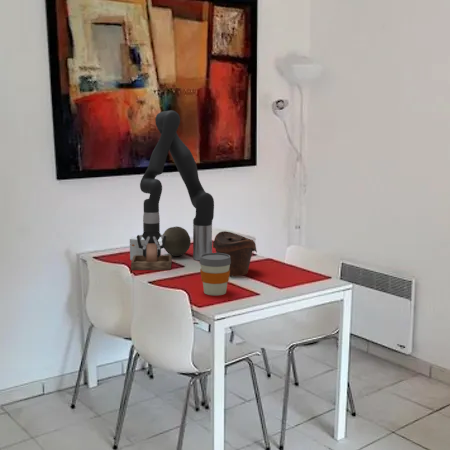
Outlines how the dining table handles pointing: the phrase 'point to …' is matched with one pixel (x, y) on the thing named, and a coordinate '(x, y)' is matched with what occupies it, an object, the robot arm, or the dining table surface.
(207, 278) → the reusable coffee cup
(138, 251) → the small box
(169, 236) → the cantaloupe
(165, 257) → the tray
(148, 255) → the tan round cylinder
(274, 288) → the dining table surface
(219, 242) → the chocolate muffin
